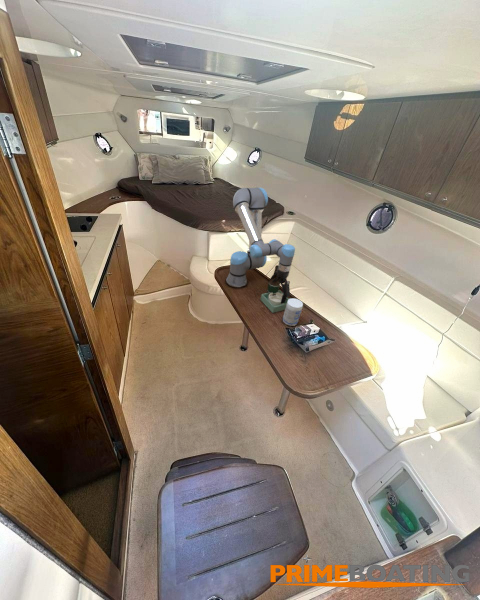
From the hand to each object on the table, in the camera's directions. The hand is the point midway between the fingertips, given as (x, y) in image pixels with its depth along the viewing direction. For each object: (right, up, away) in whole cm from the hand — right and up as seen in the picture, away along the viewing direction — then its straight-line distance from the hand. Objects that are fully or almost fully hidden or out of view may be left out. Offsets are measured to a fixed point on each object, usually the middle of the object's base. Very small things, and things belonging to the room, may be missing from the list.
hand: (276, 297), depth 167 cm
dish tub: (0, -5, +3) cm, 5 cm away
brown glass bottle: (-2, +1, +9) cm, 10 cm away
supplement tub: (+7, -16, -10) cm, 20 cm away
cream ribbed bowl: (0, -4, +3) cm, 5 cm away
